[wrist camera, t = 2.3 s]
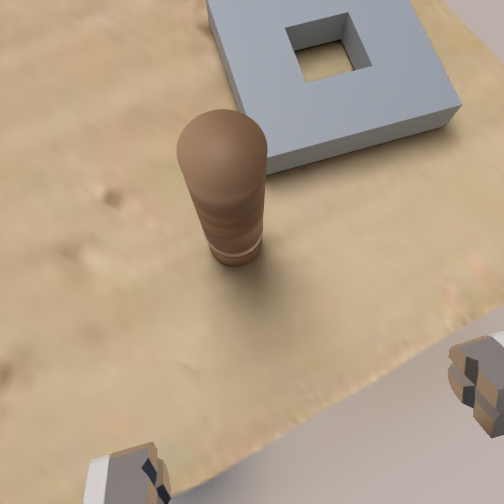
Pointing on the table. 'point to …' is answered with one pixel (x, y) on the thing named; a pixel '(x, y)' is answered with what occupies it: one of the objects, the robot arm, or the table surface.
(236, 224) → the peg
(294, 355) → the table surface
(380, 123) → the socket board
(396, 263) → the table surface
